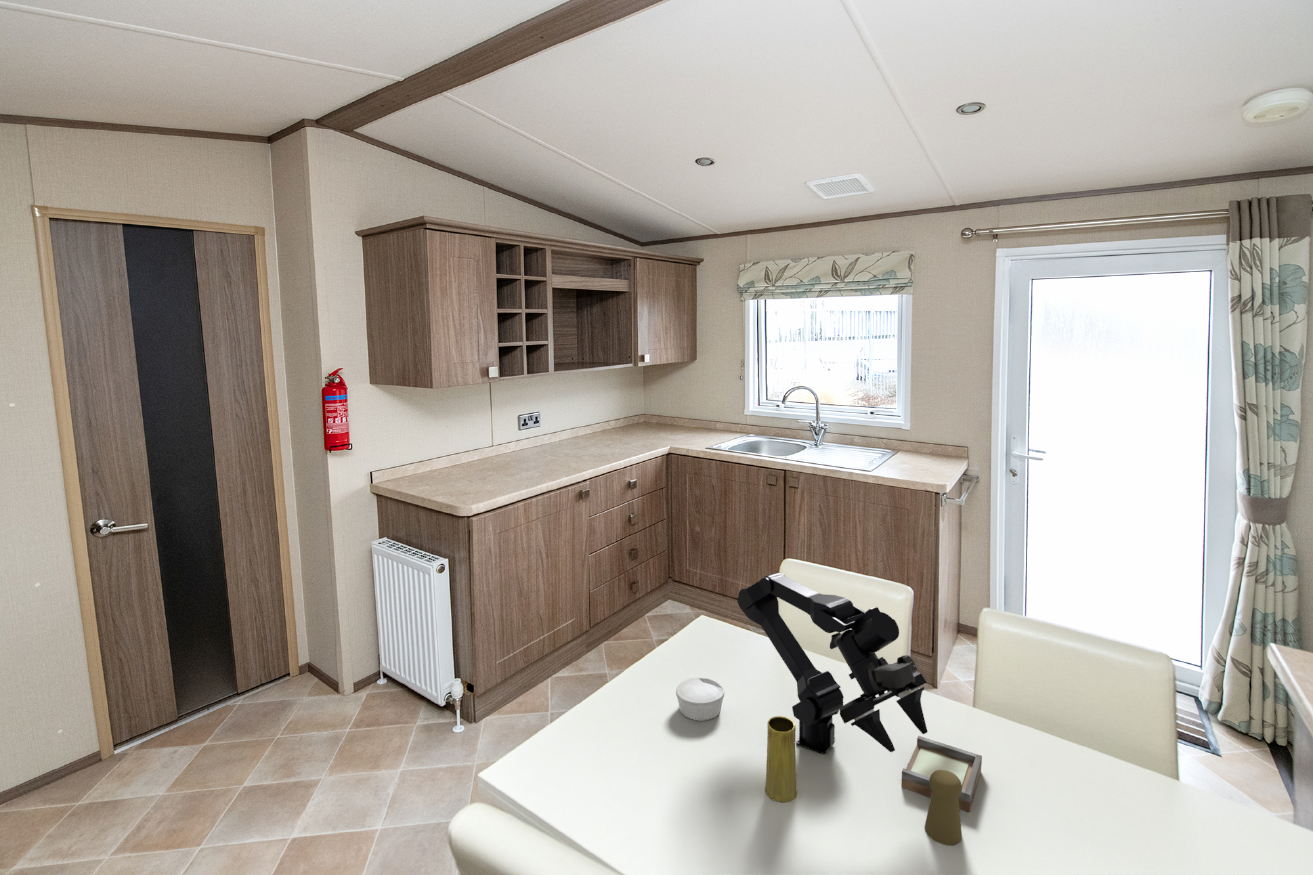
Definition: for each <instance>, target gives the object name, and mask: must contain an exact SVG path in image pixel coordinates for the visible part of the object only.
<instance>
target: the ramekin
mask: <svg viewBox="0 0 1313 875" xmlns="http://www.w3.org/2000/svg"><path fill="white" fill-rule="evenodd" d="M675 695H676V699H677V702H678V707H679V711H680V712H681V713H682V715H683V716H685V717H686V718H687V717H688V718H687V719H689V718H690V719H689V720H692V719H693V721H696V720H697V721H696V722H706V721H710V720H712V718H713V719H714V718H716V717H717V716H718V715H719V714H720V712H721V710H722V706H723V705H722V704H723V701H724V698H725V688H724V687H723V685H722V684H721V683H720V682H718V681H716V680H714V679H711V678H708V677H693V678H692V677H691V678H688V679H685V680H683V681H681V682H680V683H679V684H678V685H677V686H676V689H675ZM709 719H710V720H709ZM705 720H706V721H705Z"/></svg>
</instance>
